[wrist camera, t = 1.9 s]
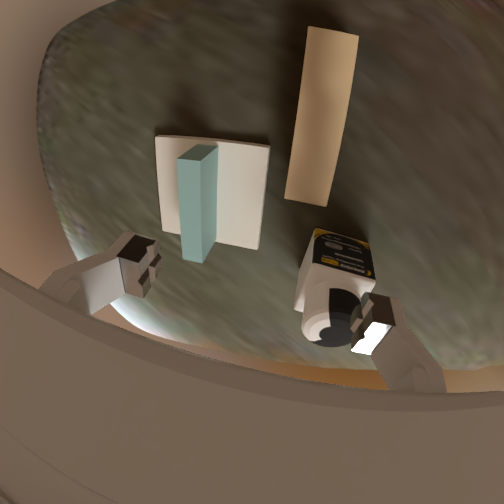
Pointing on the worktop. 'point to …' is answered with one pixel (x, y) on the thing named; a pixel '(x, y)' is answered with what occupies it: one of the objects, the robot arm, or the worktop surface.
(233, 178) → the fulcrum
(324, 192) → the batten
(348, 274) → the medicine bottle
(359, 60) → the worktop surface
